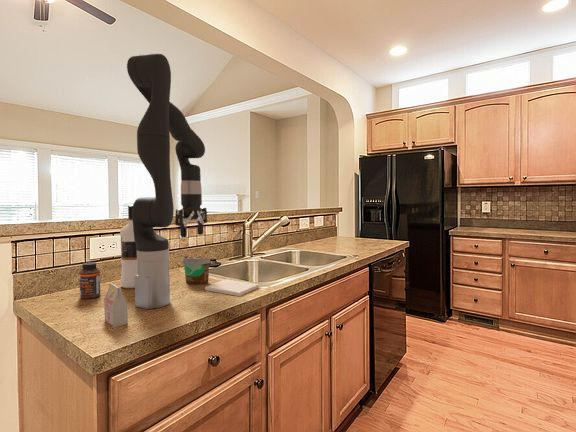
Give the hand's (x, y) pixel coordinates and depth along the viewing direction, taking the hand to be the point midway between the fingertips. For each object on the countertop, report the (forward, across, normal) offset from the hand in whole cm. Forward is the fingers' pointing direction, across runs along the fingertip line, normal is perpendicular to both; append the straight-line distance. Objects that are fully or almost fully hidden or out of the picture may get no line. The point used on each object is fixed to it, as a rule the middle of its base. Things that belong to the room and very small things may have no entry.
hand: (192, 235), depth 129 cm
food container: (+18, 0, 0) cm, 19 cm away
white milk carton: (+18, -39, -10) cm, 44 cm away
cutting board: (+18, +1, -18) cm, 26 cm away
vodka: (+18, -13, +17) cm, 28 cm away
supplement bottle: (+18, -29, +18) cm, 39 cm away
